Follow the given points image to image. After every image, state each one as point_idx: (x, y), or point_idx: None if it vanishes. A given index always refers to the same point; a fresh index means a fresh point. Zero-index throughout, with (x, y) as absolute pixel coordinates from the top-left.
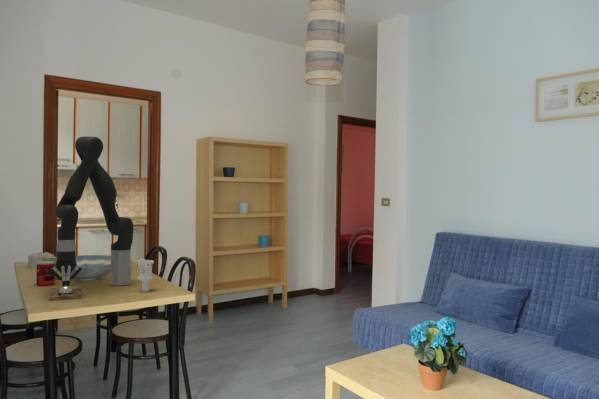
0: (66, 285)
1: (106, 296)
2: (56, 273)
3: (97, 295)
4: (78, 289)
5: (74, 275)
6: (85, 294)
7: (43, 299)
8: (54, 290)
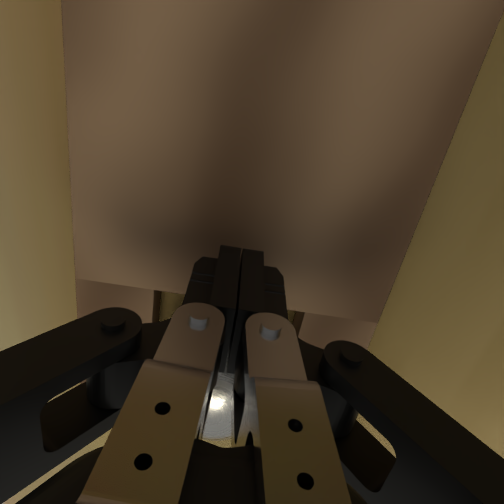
0: (220, 424)
1: (501, 442)
2: (14, 492)
3: (468, 389)
4: (391, 222)
5: (359, 471)
6: (406, 311)
7: (43, 330)
8: (115, 130)
